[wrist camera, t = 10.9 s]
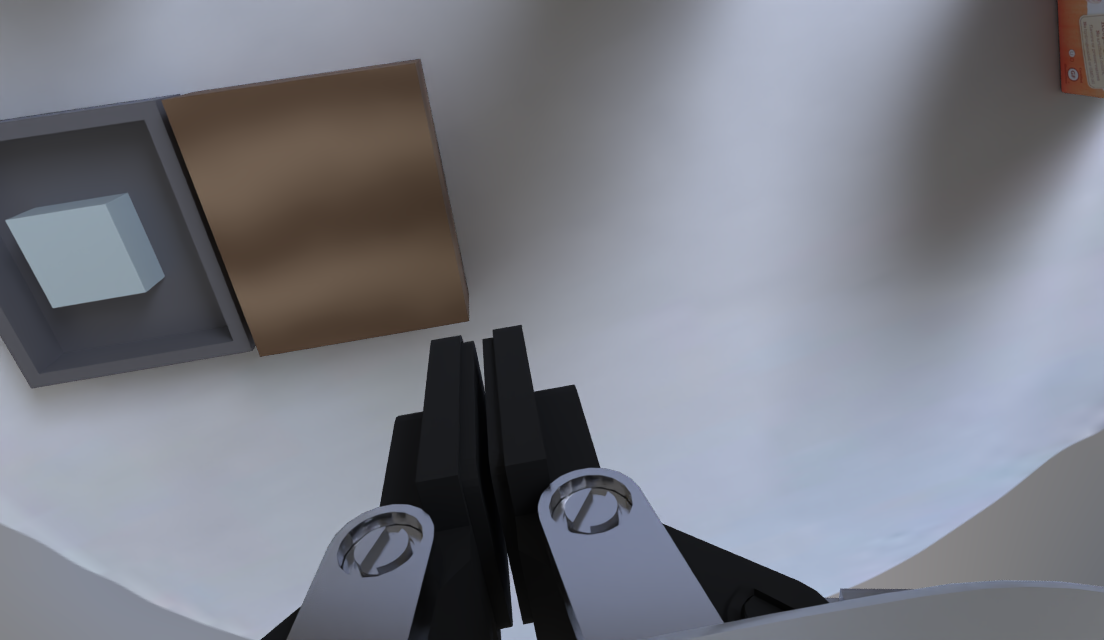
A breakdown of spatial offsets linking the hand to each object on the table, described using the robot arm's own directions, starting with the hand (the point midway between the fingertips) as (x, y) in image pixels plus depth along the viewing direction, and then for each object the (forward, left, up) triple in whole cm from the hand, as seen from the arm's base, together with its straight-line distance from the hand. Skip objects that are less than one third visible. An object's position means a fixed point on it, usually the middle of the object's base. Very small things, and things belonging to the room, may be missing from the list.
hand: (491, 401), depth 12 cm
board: (+2, -8, -27) cm, 28 cm away
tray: (+2, -21, -27) cm, 34 cm away
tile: (+2, -22, -24) cm, 32 cm away
